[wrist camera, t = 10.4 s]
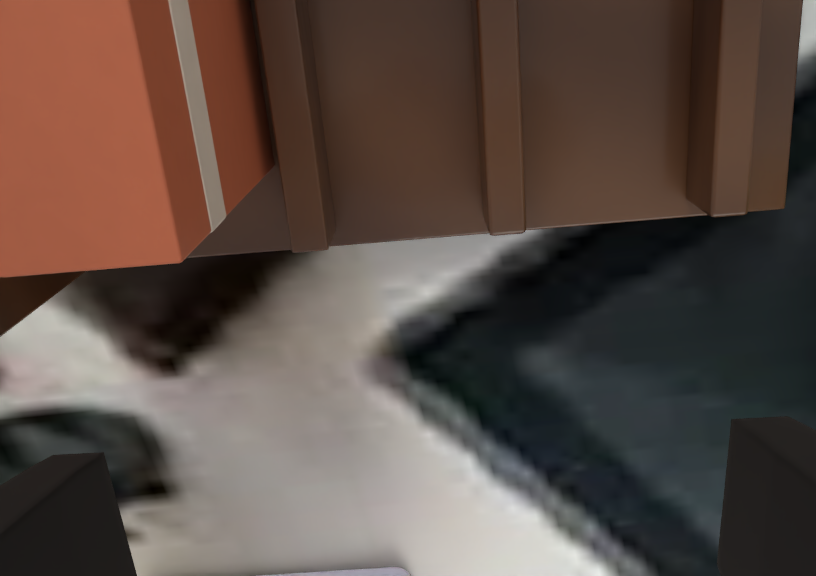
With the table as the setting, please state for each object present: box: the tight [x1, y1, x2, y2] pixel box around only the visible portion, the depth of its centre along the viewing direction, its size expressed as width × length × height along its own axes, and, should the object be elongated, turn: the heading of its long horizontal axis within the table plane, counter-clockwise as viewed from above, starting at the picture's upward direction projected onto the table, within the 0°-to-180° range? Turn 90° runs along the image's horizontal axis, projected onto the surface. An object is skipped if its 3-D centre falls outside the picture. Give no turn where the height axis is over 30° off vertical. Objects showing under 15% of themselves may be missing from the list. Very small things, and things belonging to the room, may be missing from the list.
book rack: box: [0, 0, 803, 337], centre depth 13 cm, size 10×17×8 cm, turn 95°
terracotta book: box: [0, 0, 275, 277], centre depth 12 cm, size 6×3×7 cm, turn 5°
